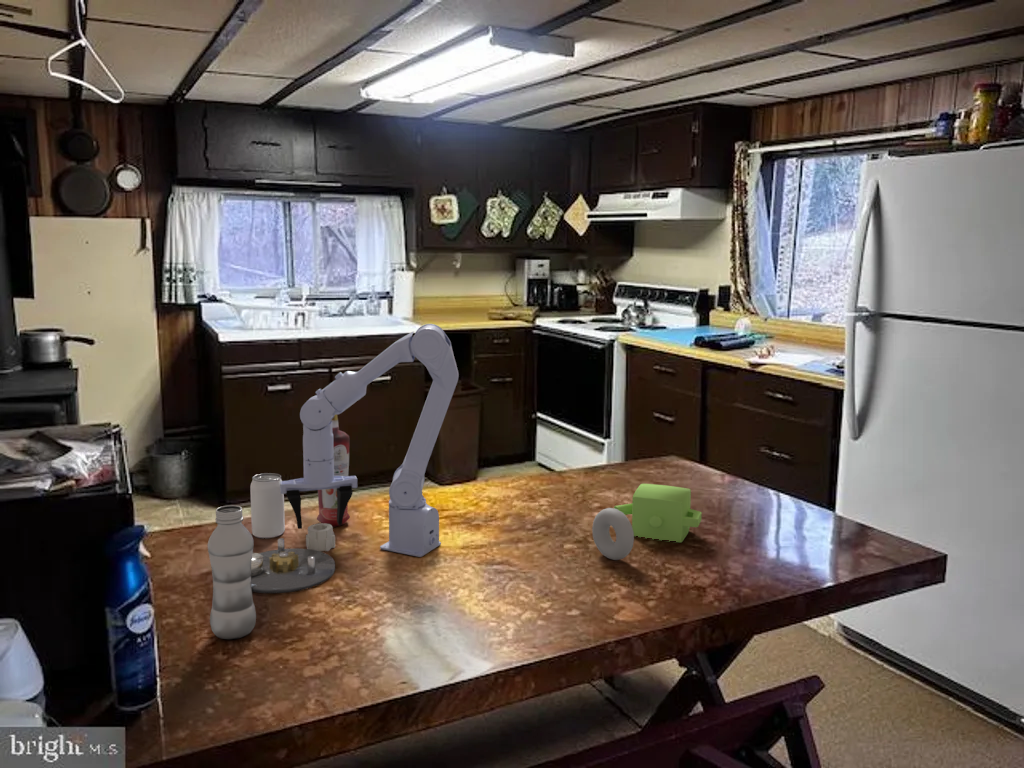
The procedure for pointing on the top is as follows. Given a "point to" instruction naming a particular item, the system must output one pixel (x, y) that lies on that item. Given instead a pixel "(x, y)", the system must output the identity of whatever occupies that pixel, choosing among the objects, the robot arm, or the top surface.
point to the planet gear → (320, 537)
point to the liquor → (341, 468)
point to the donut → (621, 529)
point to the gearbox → (661, 512)
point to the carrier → (289, 569)
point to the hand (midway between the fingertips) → (319, 525)
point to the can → (267, 506)
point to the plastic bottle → (231, 575)
